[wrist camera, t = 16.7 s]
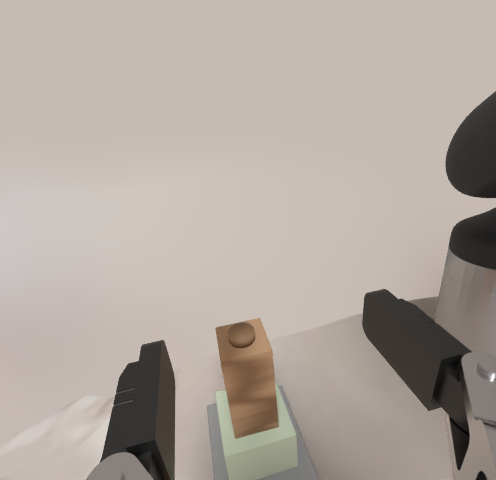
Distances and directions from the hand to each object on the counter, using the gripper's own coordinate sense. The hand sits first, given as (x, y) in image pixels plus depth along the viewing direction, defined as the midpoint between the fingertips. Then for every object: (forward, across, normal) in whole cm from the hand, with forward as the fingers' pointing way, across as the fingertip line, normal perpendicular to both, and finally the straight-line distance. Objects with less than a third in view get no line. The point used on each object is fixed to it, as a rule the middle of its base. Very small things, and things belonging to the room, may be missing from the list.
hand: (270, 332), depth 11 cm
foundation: (+11, 0, +28) cm, 30 cm away
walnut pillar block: (+11, 0, +21) cm, 24 cm away
